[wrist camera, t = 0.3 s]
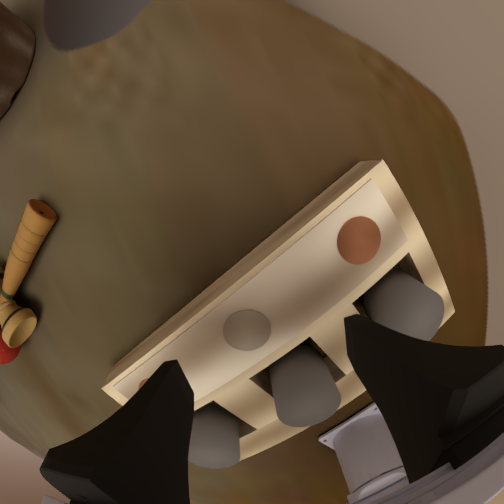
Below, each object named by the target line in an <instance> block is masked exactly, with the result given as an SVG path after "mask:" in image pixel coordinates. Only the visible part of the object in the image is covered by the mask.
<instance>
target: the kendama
mask: <svg viewBox="0 0 504 504" xmlns="http://www.w3.org/2000/svg"><path fill="white" fill-rule="evenodd" d="M56 219H57V216H56V214H55V212H54V211H53V209H51V208H50V207H49V206H48V205H47V204H45V203H44V202H42V201H39V200H36V199H31V200H29V201H28V203H27V206H26V208H25V211H24V214H23V216H22V220H21V222H20V224H19V227H18V230H17V233H16V236H15V239H14V241H13V244H12V248H11V250H10V253H9V257H8V260H7V264H6V268H5V271H4V270H3V268H2V267H1V266H0V364H6V363H9V362H11V361H13V360H14V359H15V358H16V357H17V355H18V354H19V352H20V349H21V346H22V343H23V342H25V341H26V340H27V338H28V337H29V336H30V335H31V334H32V332H33V330H34V329H35V327H36V324H37V317H36V315H35V314H34V313H33V311H32V310H31V309H29V308H23V307H20V306H18V305H17V304H16V301H14V300H13V297H14V295H15V293H16V291H17V289H18V288H19V286H20V284H21V282H22V280H23V279H24V277H25V275H26V273H27V271H28V269H29V267H30V265H31V263H32V260H33V259H34V257H35V255H36V253H37V251H38V249H39V247H40V246H41V244H42V242H43V240H44V239H45V237H46V234H47V233H48V232H49V230H50V229H51V227H52V226H53V224H54V223H55V221H56Z"/></svg>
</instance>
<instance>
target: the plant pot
mask: <svg viewBox="0 0 504 504" xmlns="http://www.w3.org/2000/svg"><path fill="white" fill-rule="evenodd" d="M34 50H35V35H34V32H33V30H32V29H31V28H30V27H29V26H27V25H26V24H25V23H23V22H22V21H21V20H20V19H19V18H18V17H17V16H16V15H14V14H13V13H12V12H11V11H10V10H9V9H7V8H6V7H5V6H4V5H3V4H2V3H1V2H0V118H1V117H2V116H3V115H4V114H5V113H6V111H7V110H8V108H9V107H10V105H11V100H12V97H13V96H14V94H15V93H16V91H17V90H18V89H19V88H20V87H21V86H22V85H23V83H24V81H25V78H26V76H27V74H28V71H29V68H30V65H31V62H32V58H33V55H34Z"/></svg>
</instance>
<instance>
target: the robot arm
mask: <svg viewBox="0 0 504 504" xmlns="http://www.w3.org/2000/svg"><path fill="white" fill-rule="evenodd" d="M344 327H345V337H346V348H347V356H348V358H349V360H350V362H351V365H352V367H353V369H354V371H355V373H356V374H357V376H358V378H359V379H360V381H361V382H362V384H363V385H364V387H365V388H366V390H367V391H368V393H369V395H370V396H371V398H372V399H373V401H374V403H372V404H370V405H369V406H368V407H366V408H365V409H363V410H362V411H360V412H359V413H357V414H356V415H354V416H353V417H351V418H350V419H348V420H346V421H345V422H343V423H342V424H340V425H338V426H337V427H335V428H333V429H332V430H330V431H328V432H327V433H325V434H323V435H321V436H320V437H319V438H318V440H319V441H320V442H321V443H323V444H325V445H326V446H328V447H330V448H332V449H333V450H335V452H336V455H337V457H338V460H339V463H340V466H341V469H342V471H343V474H344V477H345V480H346V483H347V485H348V488H349V491H350V495H348V496H347V498H348V501H349V502H348V503H346V504H487V503H488V502H489V501H490V500H492V499H493V498H494V497H495V496H496V495H498V494H499V493H500V492H501V491H502V490H503V489H504V346H503V345H495V346H482V347H468V346H453V345H445V344H439V343H433V342H429V341H425V340H421V339H417V338H414V337H411V336H408V335H405V334H402V333H400V332H397V331H395V330H392V329H390V328H387V327H385V326H383V325H381V324H379V323H376V322H374V321H372V320H370V319H368V318H366V317H364V316H362V315H359V314H354V315H351V316H348V317H345V318H344ZM193 417H194V391H193V390H192V388H191V386H190V384H189V382H188V380H187V378H186V376H185V374H184V372H183V370H182V368H181V366H180V364H179V362H178V360H177V359H176V360H170V361H164V362H163V363H162V364H161V365H160V366H159V368H158V369H157V370H156V371H155V372H154V373H153V374H152V375H151V377H150V378H149V379H148V380H147V381H146V382H145V383H144V385H143V386H142V387H141V388H140V389H139V390H138V391H137V392H136V393H135V394H134V395H133V396H132V397H131V398H130V399H129V400H128V401H127V402H126V403H125V404H124V405H123V406H122V407H121V408H120V409H119V410H118V411H117V412H115V413H114V414H113V415H112V416H111V417H109V418H108V419H107V420H105V421H104V422H102V423H101V424H99V425H98V426H96V427H95V428H94V429H92V430H90V431H89V432H87V433H85V434H83V435H82V436H80V437H78V438H76V439H74V440H72V441H69V442H67V443H65V444H62V445H59V446H57V447H54V448H51V449H49V451H48V453H47V455H46V457H45V459H44V461H43V463H42V465H41V467H40V472H41V474H42V476H43V477H44V478H45V479H46V480H47V481H48V482H49V483H50V484H51V485H52V486H54V487H55V488H56V489H57V490H59V491H60V492H61V493H62V494H64V495H65V496H66V497H68V498H69V499H71V501H70V504H190V499H189V485H188V453H189V445H190V438H191V431H192V424H193ZM41 504H67V503H65V502H63V501H61V500H58V499H55V498H53V497H50V496H47V495H44V498H43V501H42V503H41Z"/></svg>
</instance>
